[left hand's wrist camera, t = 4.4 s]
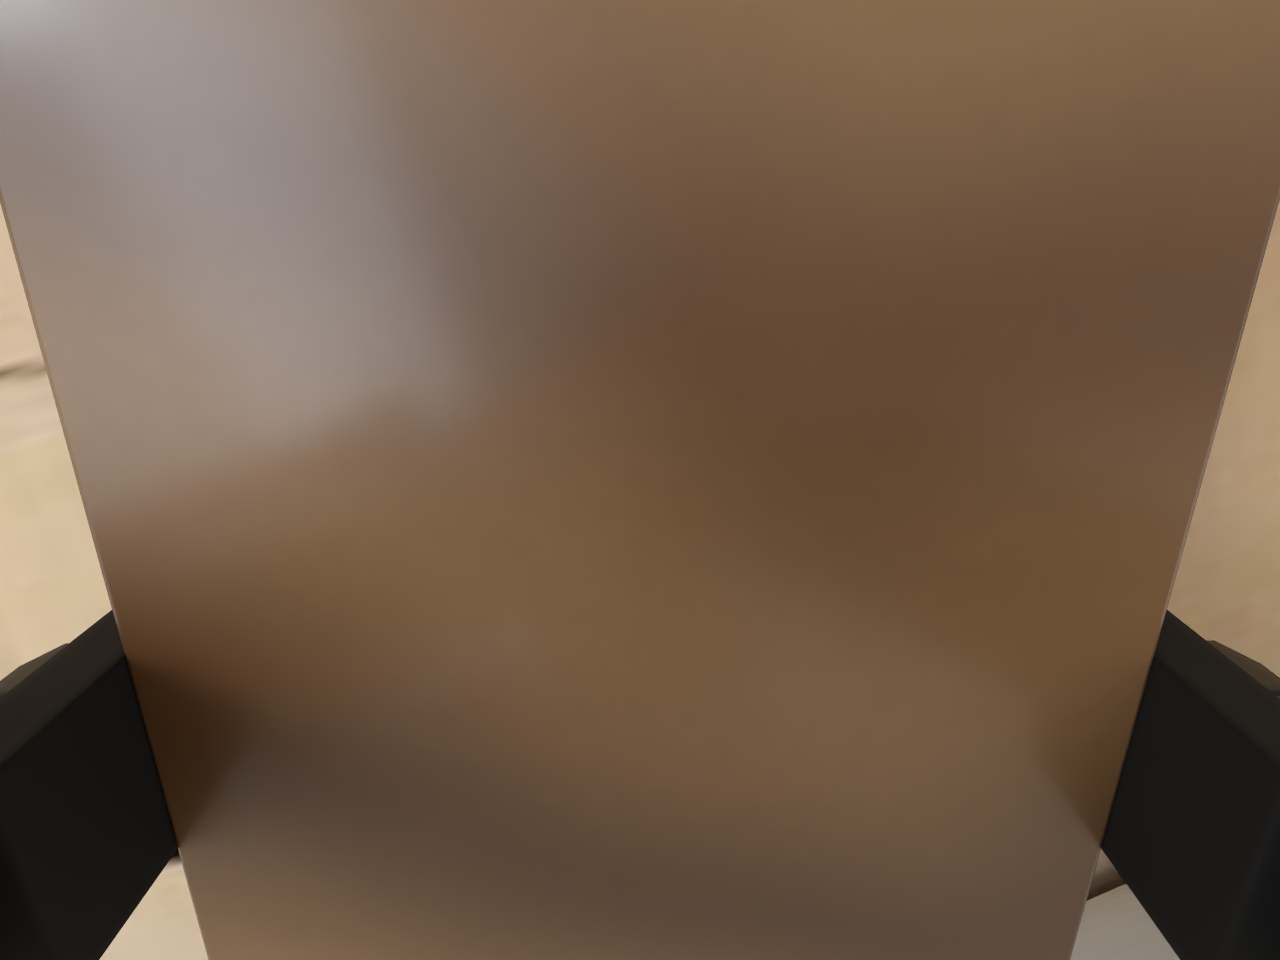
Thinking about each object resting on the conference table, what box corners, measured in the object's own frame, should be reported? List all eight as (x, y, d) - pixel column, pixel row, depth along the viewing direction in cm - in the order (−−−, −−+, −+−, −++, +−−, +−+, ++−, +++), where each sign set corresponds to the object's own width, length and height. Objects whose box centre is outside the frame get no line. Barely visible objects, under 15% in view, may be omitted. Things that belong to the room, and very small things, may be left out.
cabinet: (339, -375, 14) (-725, -2399, 3) (940, -375, 14) (2001, -2397, 3) (437, 577, 21) (216, 996, 10) (841, 577, 21) (1063, 996, 10)
